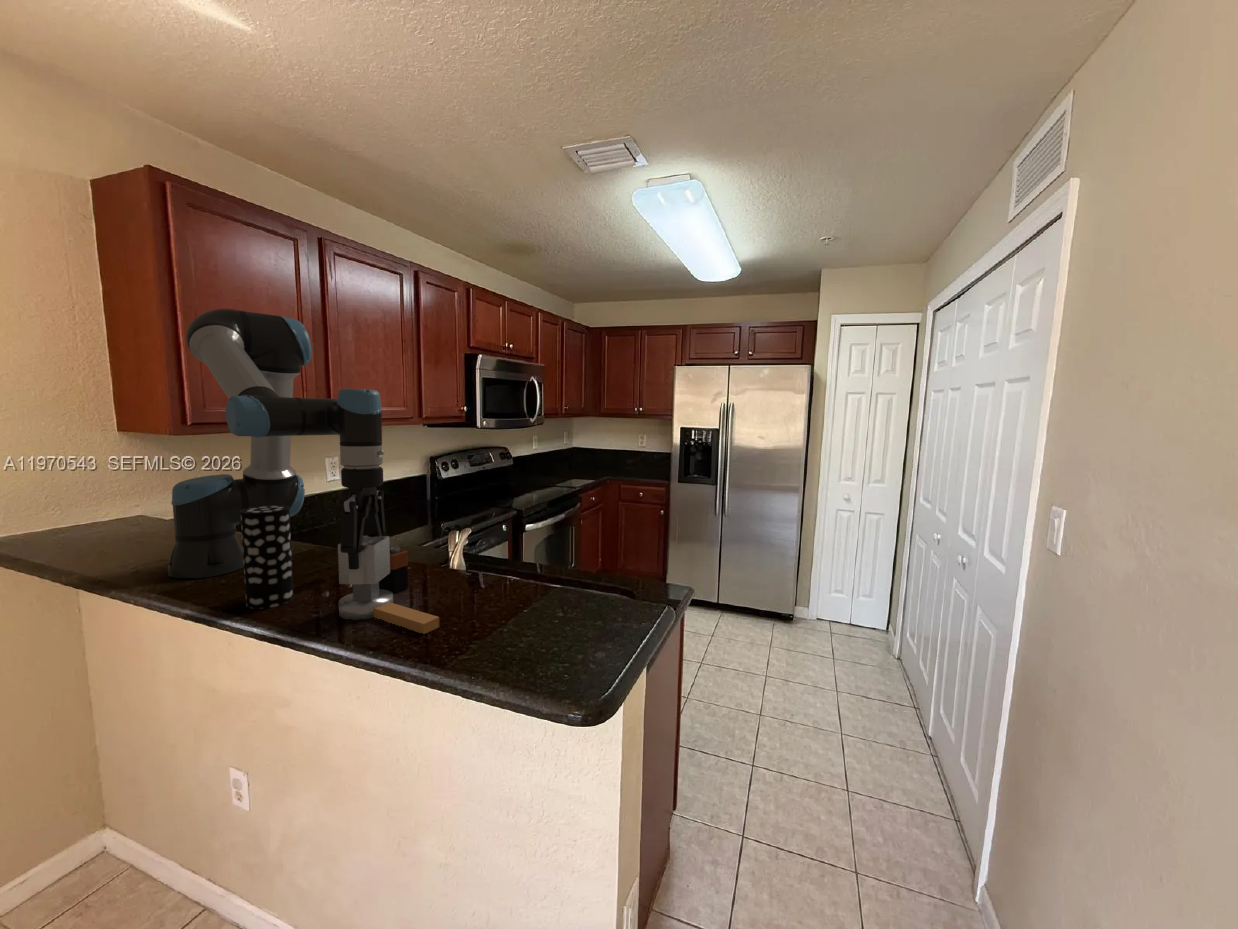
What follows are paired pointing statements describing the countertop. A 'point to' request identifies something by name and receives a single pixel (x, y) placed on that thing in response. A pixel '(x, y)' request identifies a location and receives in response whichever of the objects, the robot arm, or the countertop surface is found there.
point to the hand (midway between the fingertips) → (366, 577)
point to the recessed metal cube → (368, 560)
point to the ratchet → (383, 609)
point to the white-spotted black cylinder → (267, 556)
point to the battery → (396, 572)
